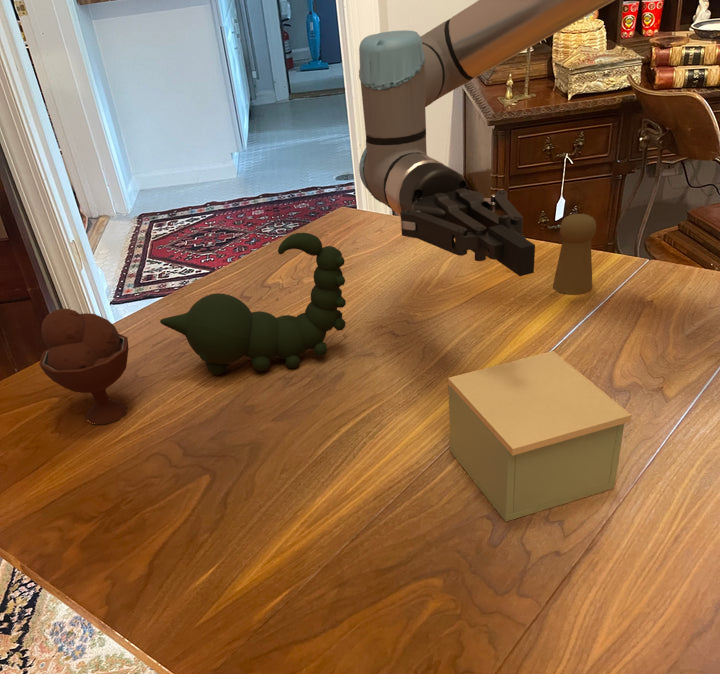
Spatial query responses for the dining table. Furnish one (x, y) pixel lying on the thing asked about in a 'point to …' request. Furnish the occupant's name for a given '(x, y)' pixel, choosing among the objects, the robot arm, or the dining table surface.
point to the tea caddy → (532, 465)
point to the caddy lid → (537, 402)
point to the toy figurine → (267, 318)
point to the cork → (575, 255)
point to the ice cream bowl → (85, 358)
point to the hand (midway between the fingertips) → (527, 260)
